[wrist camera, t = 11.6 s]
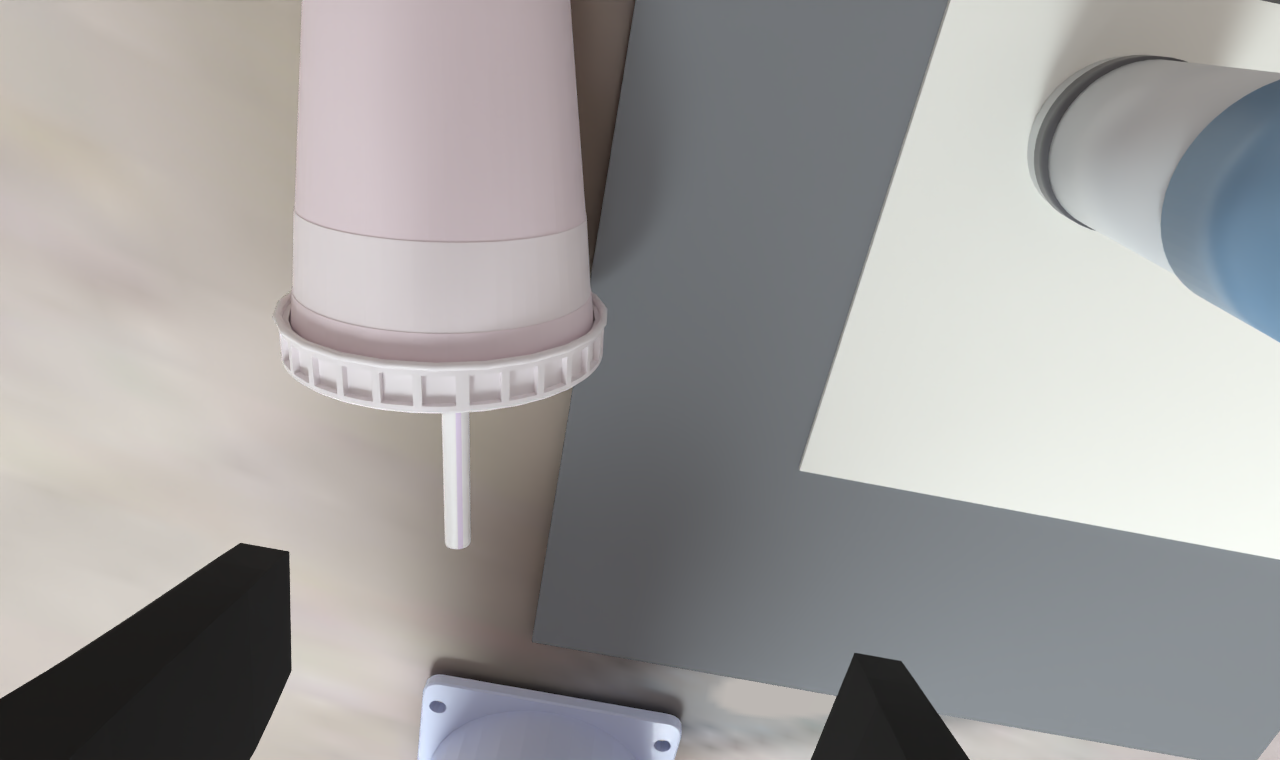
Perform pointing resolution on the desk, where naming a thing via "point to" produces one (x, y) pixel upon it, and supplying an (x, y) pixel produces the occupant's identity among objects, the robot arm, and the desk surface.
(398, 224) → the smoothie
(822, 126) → the desk mat
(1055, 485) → the paper
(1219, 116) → the marker
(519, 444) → the desk surface
